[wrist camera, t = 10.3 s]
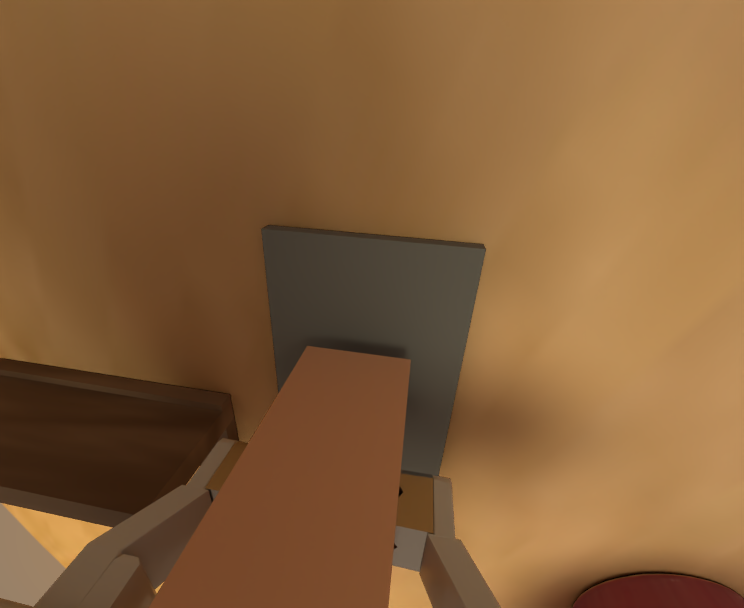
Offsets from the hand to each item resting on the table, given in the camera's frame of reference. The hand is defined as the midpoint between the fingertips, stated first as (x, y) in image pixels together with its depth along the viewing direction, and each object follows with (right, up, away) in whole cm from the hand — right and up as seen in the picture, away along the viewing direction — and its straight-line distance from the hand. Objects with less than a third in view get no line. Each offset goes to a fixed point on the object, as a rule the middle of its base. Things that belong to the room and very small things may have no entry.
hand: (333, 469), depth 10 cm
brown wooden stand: (-13, -1, +9) cm, 16 cm away
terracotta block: (+1, +2, +3) cm, 4 cm away
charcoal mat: (+1, +2, +5) cm, 5 cm away
